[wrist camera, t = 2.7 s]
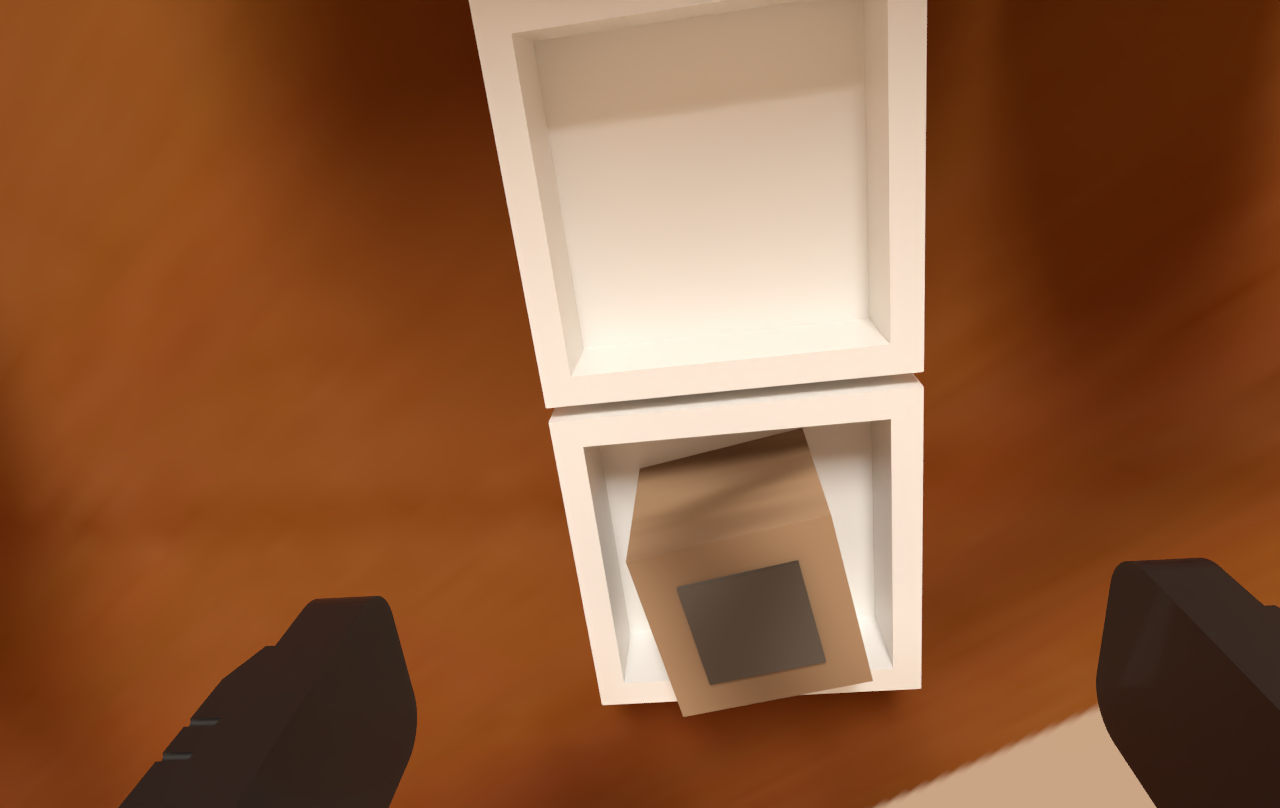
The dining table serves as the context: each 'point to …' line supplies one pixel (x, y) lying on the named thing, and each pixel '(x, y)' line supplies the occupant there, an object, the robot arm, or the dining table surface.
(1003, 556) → the dining table surface
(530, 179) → the dish
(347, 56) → the dining table surface
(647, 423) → the dish
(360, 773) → the robot arm
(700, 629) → the letter cube
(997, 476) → the dining table surface
